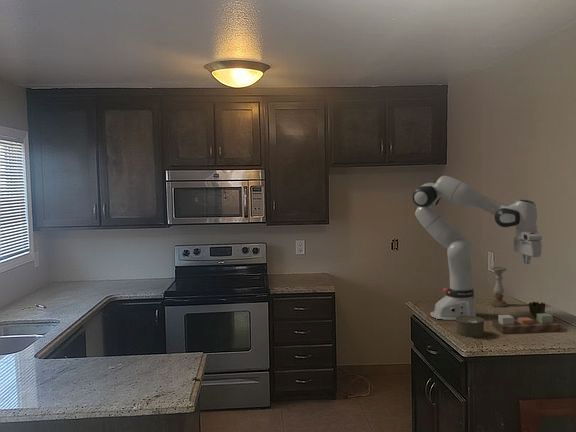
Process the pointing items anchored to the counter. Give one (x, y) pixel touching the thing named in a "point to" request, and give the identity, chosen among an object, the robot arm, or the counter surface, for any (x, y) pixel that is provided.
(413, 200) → the robot arm
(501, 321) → the grey button
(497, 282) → the candle holder
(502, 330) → the walnut button board
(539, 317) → the sage button
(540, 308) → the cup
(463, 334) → the can
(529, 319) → the terracotta button
